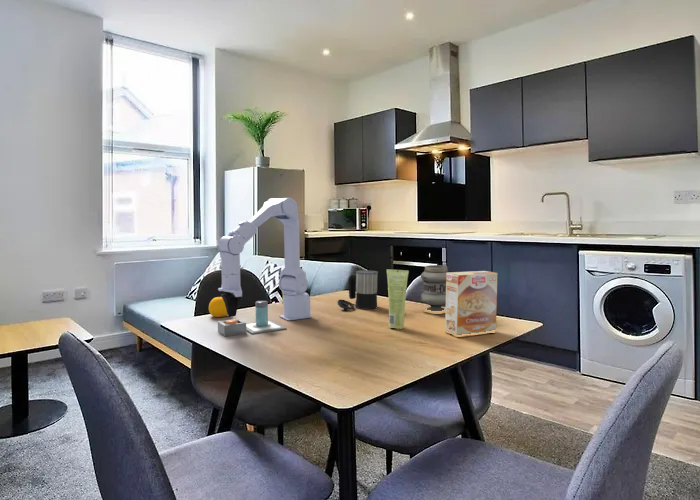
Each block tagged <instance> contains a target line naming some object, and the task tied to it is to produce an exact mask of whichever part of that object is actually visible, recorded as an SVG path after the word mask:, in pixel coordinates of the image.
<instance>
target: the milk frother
mask: <svg viewBox="0 0 700 500" xmlns="http://www.w3.org/2000/svg"><path fill="white" fill-rule="evenodd" d="M378 274H379V271H377V270H368V269H367V270H366V269H365V270H364V269H362V270H356V271H355V273H352V274H350V275H349V277H348V297H349V299H350V300H355V304H354V303H352V302H350V301H347V300H345V299H338V300H337V301H336V303H337V305H338V307H340V308H342V309H343V310H344V311H348V310H349V311H352V310H354V309H355V308H357V309H361V310H362V309H363V310H371V309H370V308H375V309H377V308H378V307H377V306H378V295H377V294H378ZM376 307H377V308H376Z"/></svg>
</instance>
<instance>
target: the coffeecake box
mask: <svg viewBox="0 0 700 500" xmlns="http://www.w3.org/2000/svg"><path fill="white" fill-rule="evenodd" d="M449 272H450V271H449ZM497 300H498V272H494V271H487V270H478V271H477V270H476V271H475V270H474V271H473V270H472V271H455V272H454V271H453V272H452V271H451V272H450V273H446V305H445V309H446V314H444V315H445V322H444V323H445V324H444V325H445V326H444V331H445V330H446V331H448V332H451V333H453V334H456V335H462V334H471V333H479V332H486V331H492V330H496V331H497V304H498V301H497Z"/></svg>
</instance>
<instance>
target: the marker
mask: <svg viewBox="0 0 700 500" xmlns="http://www.w3.org/2000/svg"><path fill="white" fill-rule="evenodd" d="M254 303H255V322H256V327H266V326H268V321H269V309H268V307H269V304H268V303H269V301H267V300H257V301H255V302H254Z"/></svg>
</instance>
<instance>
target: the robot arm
mask: <svg viewBox="0 0 700 500" xmlns="http://www.w3.org/2000/svg"><path fill="white" fill-rule="evenodd" d="M298 210H299V209H298V203H297V201H295V200H294V198H292V197H282V198H277V197H276V198H275V197H271V198H269V199H267V201H265V202H264V203H263V205H262V207H261V208H260V209H259V210H258V211H257V212H256V213H255V214H254V215H253V216H252V217H251V218H250V219H249V220H244V221H239V222H238V223H237V224H238V225H237V226H236V227H235V228H234V229H233V230H230V231H229V232H228V234H227V235H224V236H222V237H220V239H219V240H218V242H217V244H216V248H217V251H218V252H219V257H220V259H221V261H220V262H221V264H220V266H221V285H220V286H221V287H218V288H217V290H218V291H219V292H225V293H222V294H220V297H222V299H223V300H224V303H225V306H226V310H227V314H228V315H227V316H228V317H229V318H230V317H236V316H237V313H238V306H239V303H240V301H241V299H242V298H243V290H242V286H241V253H242V252H243V251H244V249H245V248H244V247H245V245H246V244H247V242H249V241H250V240H251V239H253V237H254V236H255V235H256V234H257V229H258V228H259V227H260V226H261V225H263V224H264V223H265V222H266V221H268V220H269V219H270V218H271V217H272V218H275V219H277V220H279V221H280V223H282V224H283V241H284V242H283V244H284V245H283V246H284V253H283V254H284V268H283V269H282V270H281V271H280V272H279V275H280V276H279V280H278V288H279V290H281V293H282V304H283V307H282V309H283V314H280V315H279V317H280V318H281V319H284V320H286V321H295V320H303V319H309V318H312V316H311V297H310V295H309V293H307V292H306V291H307V289H308V285H309V282H308V280H307V275H306V271H304V270H303V268H301V261H300V259H301V258H300V257H301V255H300V253H301V252H300V250H301V248H300V217H299V214H298V213H299V212H298Z"/></svg>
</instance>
